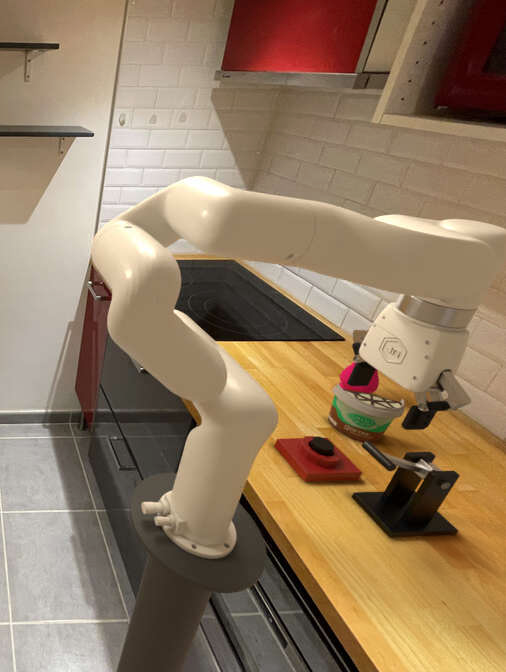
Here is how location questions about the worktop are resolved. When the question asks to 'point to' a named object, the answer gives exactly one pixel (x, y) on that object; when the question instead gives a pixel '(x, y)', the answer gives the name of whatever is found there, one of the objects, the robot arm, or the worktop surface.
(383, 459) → the lever
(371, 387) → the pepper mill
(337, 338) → the worktop surface
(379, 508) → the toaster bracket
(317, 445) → the stop button
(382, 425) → the food container
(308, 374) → the worktop surface
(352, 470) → the block
